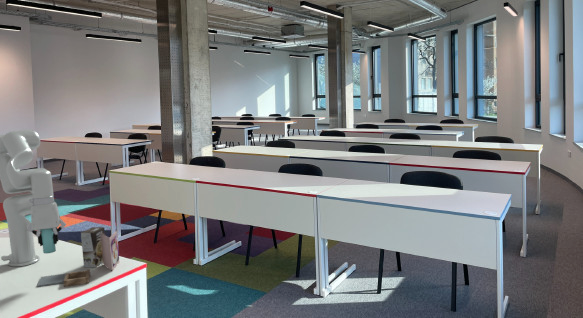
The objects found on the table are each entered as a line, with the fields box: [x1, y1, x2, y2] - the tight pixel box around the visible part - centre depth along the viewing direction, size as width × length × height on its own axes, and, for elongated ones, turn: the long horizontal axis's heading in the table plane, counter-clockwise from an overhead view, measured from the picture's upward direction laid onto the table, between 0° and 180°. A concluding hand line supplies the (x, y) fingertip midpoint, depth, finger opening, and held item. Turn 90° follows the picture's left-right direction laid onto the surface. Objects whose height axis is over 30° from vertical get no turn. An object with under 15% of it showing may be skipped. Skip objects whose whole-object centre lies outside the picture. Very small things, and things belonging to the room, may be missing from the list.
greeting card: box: [100, 230, 120, 272], centre depth 211 cm, size 11×7×15 cm, turn 5°
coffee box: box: [80, 226, 106, 268], centre depth 216 cm, size 9×6×16 cm
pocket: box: [63, 269, 91, 288], centre depth 197 cm, size 9×9×2 cm
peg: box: [41, 228, 56, 254], centre depth 196 cm, size 5×5×10 cm
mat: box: [36, 272, 67, 288], centre depth 198 cm, size 10×10×1 cm
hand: (48, 243), depth 196 cm, fingers closed on peg, 4 cm apart
